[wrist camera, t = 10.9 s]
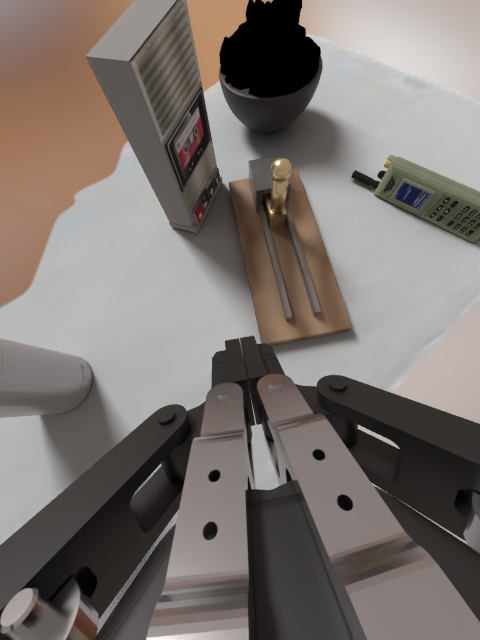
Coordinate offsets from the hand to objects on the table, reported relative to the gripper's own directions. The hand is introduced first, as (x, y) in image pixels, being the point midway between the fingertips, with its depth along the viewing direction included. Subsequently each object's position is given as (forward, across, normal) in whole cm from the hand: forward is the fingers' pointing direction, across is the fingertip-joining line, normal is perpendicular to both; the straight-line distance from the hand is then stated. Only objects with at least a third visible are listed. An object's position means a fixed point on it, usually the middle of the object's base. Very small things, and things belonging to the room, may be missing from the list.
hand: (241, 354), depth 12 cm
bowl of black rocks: (+56, -16, -27) cm, 65 cm away
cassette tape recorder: (+44, +3, -11) cm, 46 cm away
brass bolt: (+37, -11, -7) cm, 39 cm away
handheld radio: (+35, -37, -4) cm, 51 cm away
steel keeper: (+40, -11, -10) cm, 42 cm away
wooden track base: (+34, -11, 0) cm, 35 cm away
